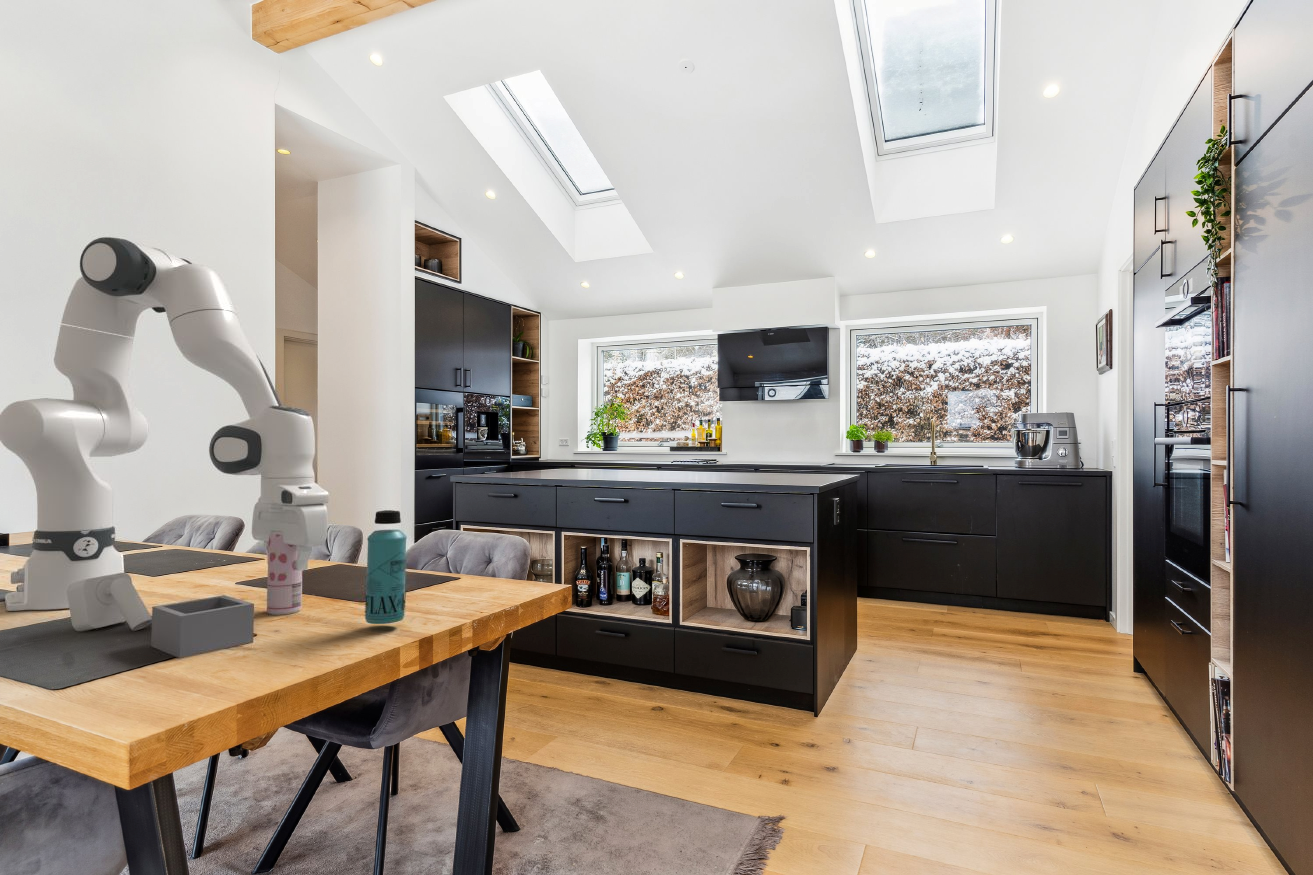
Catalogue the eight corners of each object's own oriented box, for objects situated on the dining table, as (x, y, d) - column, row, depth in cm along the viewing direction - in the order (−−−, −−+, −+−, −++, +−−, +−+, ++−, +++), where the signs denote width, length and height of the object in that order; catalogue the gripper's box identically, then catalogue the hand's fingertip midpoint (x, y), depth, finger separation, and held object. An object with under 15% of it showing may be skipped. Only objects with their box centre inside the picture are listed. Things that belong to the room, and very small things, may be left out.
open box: (151, 646, 102) (152, 606, 102) (223, 631, 110) (224, 595, 110) (179, 658, 96) (181, 616, 96) (253, 642, 104) (254, 603, 105)
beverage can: (268, 609, 126) (270, 529, 126) (303, 606, 128) (304, 528, 128) (264, 616, 120) (266, 532, 121) (300, 613, 123) (302, 531, 123)
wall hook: (126, 633, 106) (115, 571, 107) (75, 644, 108) (65, 583, 109) (172, 621, 114) (162, 563, 115) (123, 631, 116) (114, 574, 117)
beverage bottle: (355, 632, 111) (358, 511, 111) (377, 622, 117) (380, 508, 118) (392, 634, 110) (395, 512, 110) (412, 624, 116) (415, 509, 117)
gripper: (242, 492, 128) (241, 564, 127) (300, 495, 116) (299, 575, 116) (276, 490, 133) (275, 560, 133) (334, 493, 122) (333, 570, 121)
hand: (287, 567), depth 124 cm, fingers open, 8 cm apart
